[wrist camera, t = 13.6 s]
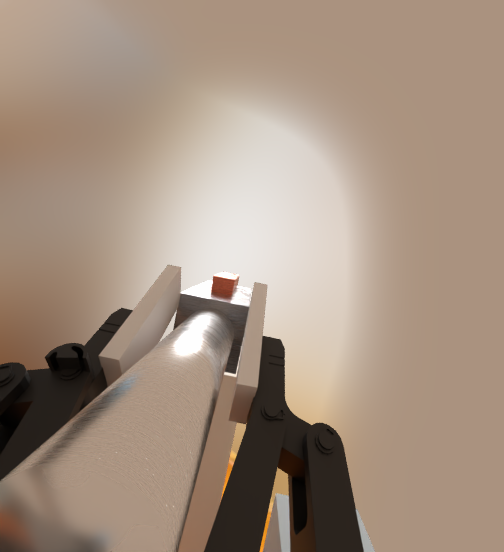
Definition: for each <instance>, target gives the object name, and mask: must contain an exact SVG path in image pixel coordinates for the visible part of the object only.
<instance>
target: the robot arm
mask: <svg viewBox="0 0 504 552" xmlns="http://www.w3.org/2000/svg"><path fill="white" fill-rule="evenodd" d="M180 290H181V267H177V266H172V265H167V267H166V268H165V270H164V271H163V272H162V273H161V275H160V276H159V277H158V279H157V280H156V281H155V283H154V284H153V285H152V286H151V288H150V289H149V290H148V292H147V293H146V294H145V296H144V297H143V298H142V300H141V301H140V302H139V303H138V305H137V306H136V307H135V309H134V310H128V309H124V308H121V309H119V310H118V311H116V312H114V313H113V314H111V316H110V317H109V318H108V319H107V320H106V321H105V323H104V324H103V325H102V326H101V327H100V328H99V330H98V331H97V332H96V333H95V334H94V335H93V337H92V338H91V339H90V340H89V341H88V342H87V343H86V345H85V346H83V345H82V344H78V343H69V344H64V345H62V346H59V347H57V348H55V349H53V350H52V351H50V352H49V353H48V354H47V355H46V357H45V359H46V361H47V363H48V366H49V369H38V370H26V368H25V367H24V365H22V364H20V363H6V364H2V365H0V481H1V480H2V479H3V478H4V477H5V476H6V475H8V474H9V473H10V472H11V471H12V470H13V469H15V468H16V467H17V466H18V465H19V464H20V463H21V462H23V461H24V460H25V459H26V458H27V457H28V456H29V455H31V454H32V453H33V452H34V451H35V450H36V449H38V448H39V447H40V446H41V445H42V444H43V443H44V442H46V441H47V440H48V439H49V438H50V437H51V436H52V435H54V434H55V433H56V432H57V431H58V430H59V429H61V428H62V427H63V426H64V425H65V424H66V423H67V422H69V421H70V420H71V419H72V418H73V417H74V416H76V415H77V414H78V413H79V412H80V411H81V410H82V409H84V408H85V407H86V406H87V405H88V404H89V403H90V402H92V401H93V400H94V399H95V398H96V397H97V396H99V395H100V394H101V393H102V392H103V391H104V390H105V389H107V388H108V387H109V386H110V385H111V384H112V383H113V382H115V381H116V380H117V379H118V378H119V377H120V376H122V375H123V374H124V373H125V372H126V371H127V370H128V369H130V368H131V367H132V366H133V365H134V364H135V363H136V362H138V361H139V360H140V359H141V358H142V357H143V356H145V355H146V354H147V353H148V352H149V351H150V350H151V349H153V348H154V347H155V346H156V345H157V344H158V343H159V341H160V339H161V337H162V336H163V334H164V332H165V330H166V328H167V326H168V325H169V323H170V321H171V319H172V317H173V315H174V313H175V312H176V310H177V308H178V305H179V300H180ZM266 294H267V285H266V284H261V283H256V282H255V283H254V288H253V292H252V297H251V301H250V306H249V311H248V316H247V321H246V326H245V332H244V337H243V343H242V348H241V354H240V359H239V365H238V371H237V376H236V382H235V387H234V393H233V398H232V404H231V409H230V415H229V421H232V422H237V423H243V424H246V423H247V424H246V431H245V433H244V436H243V439H242V442H241V445H240V448H239V451H238V454H237V456H236V459H235V462H234V465H233V468H232V471H231V474H230V477H229V480H228V483H227V486H226V488H225V491H224V494H223V497H222V500H221V503H220V506H219V509H218V512H217V515H216V518H215V520H214V523H213V526H212V529H211V532H210V535H209V538H208V541H207V544H206V547H205V550H204V552H259V551H260V546H261V541H262V537H263V532H264V527H265V523H266V518H267V513H268V509H269V504H270V499H271V495H272V490H273V485H274V480H275V476H276V471H277V467H278V468H279V469H281V470H282V471H284V472H285V473H287V474H288V482H289V520H290V552H364V549H363V544H362V539H361V534H360V529H359V524H358V519H357V513H356V508H355V503H354V498H353V493H352V488H351V483H350V478H349V473H348V468H347V462H346V457H345V452H344V447H343V443H342V441H341V438H340V436H339V435H338V433H337V432H336V431H335V430H334V429H333V428H332V427H330V426H329V425H327V424H324V423H315V424H313V425H310V424H309V423H307V422H305V421H303V420H301V419H300V418H298V417H297V416H295V415H294V414H293V413H292V412H291V411H290V409H289V408H288V406H287V404H286V401H285V367H284V366H285V360H284V358H285V351H284V350H285V349H284V346H283V344H282V342H281V340H280V339H275V338H271V337H266V336H263V326H264V315H265V304H266Z"/></svg>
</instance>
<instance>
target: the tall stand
mask: <svg viewBox="0 0 504 552" xmlns="http://www.w3.org/2000/svg"><path fill="white" fill-rule="evenodd" d="M242 343H243V342H242ZM241 348H242V347H241ZM240 354H241V352H240ZM239 359H240V357H239ZM238 365H239V361H238ZM237 371H238V366H237ZM237 371H236V374H232V373H227V372H225V373H224V377H223V380H222V384H221V388H220V392H219V396H218V400H217V403H216V407H215V411H214V415H213V419H212V423H211V426H210V430H209V434H208V438H207V442H206V446H205V449H204V453H203V457H202V461H201V465H200V469H199V472H198V476H197V480H196V484H195V488H194V492H193V495H192V499H191V503H190V507H189V511H188V515H187V518H186V522H185V526H184V530H183V534H182V538H181V541H180V545H179V549H178V552H204V550H205V547H206V544H207V541H208V538H209V535H210V532H211V529H212V526H213V523H214V520H215V518H216V515H217V512H218V509H219V505H220V501H221V496H222V491H223V486H224V481H225V476H226V472H227V467H228V462H229V457H230V452H231V448H232V443H233V438H234V433H235V428H236V423H237V422H232V421H229V415H230V409H231V404H232V398H233V393H234V387H235V382H236V376H237Z"/></svg>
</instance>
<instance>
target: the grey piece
mask: <svg viewBox="0 0 504 552" xmlns="http://www.w3.org/2000/svg"><path fill="white" fill-rule="evenodd" d="M238 280H239V275H236V274H232V273H227V272H222V273H219V274H216V275H214V276H213V281H210V280H208V281H206V282H204V283H202V284H199V285H197V286H195V287H192V288H190V289H188V290H186V291H183V292H181V293H180V300H179V305H178V308H177V313H176V318H175V324H174V329H173V331H172V332H171V333H170V334H169V335H168V336H166V337H165V338H164V339H163V340H162V341H161V342H159V343H158V344H157V345H156V346H155V347H154V348H153V349H151V350H150V351H149V352H148V353H147V354H146V355H145V356H143V357H142V358H141V359H140V360H139V361H138V362H136V363H135V364H134V365H133V366H132V367H131V368H130V369H128V370H127V371H126V372H125V373H124V374H123V375H122V376H120V377H119V378H118V379H117V380H116V381H115V382H113V383H112V384H111V385H110V386H109V387H108V388H107V389H105V390H104V391H103V392H102V393H101V394H100V395H99V396H97V397H96V398H95V399H94V400H93V401H92V402H90V403H89V404H88V405H87V406H86V407H85V408H84V409H82V410H81V411H80V412H79V413H78V414H77V415H76V416H74V417H73V418H72V419H71V420H70V421H69V422H67V423H66V424H65V425H64V426H63V427H62V428H61V429H59V430H58V431H57V432H56V433H55V434H54V435H52V436H51V437H50V438H49V439H48V440H47V441H46V442H44V443H43V444H42V445H41V446H40V447H39V448H38V449H36V450H35V451H34V452H33V453H32V454H31V455H29V456H28V457H27V458H26V459H25V460H24V461H23V462H21V463H20V464H19V465H18V466H17V467H16V468H15V469H13V470H12V471H11V472H10V473H9V474H8V475H6V476H5V477H4V478H3V479H2V480H1V481H0V552H178V549H179V545H180V541H181V538H182V534H183V530H184V526H185V522H186V518H187V515H188V511H189V507H190V503H191V499H192V495H193V492H194V488H195V484H196V480H197V476H198V472H199V469H200V465H201V461H202V457H203V453H204V449H205V446H206V442H207V438H208V434H209V430H210V426H211V423H212V419H213V415H214V411H215V407H216V403H217V400H218V396H219V392H220V388H221V384H222V380H223V377H224V373H225V372H227V373H232V374H236V371H237V366H238V361H239V357H240V352H241V347H242V342H243V337H244V332H245V326H246V321H247V316H248V311H249V306H250V297H251V289H250V288H245V287H240V286H237V285H238Z"/></svg>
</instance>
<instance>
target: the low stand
mask: <svg viewBox="0 0 504 552" xmlns="http://www.w3.org/2000/svg"><path fill="white" fill-rule="evenodd" d="M356 513H357V519H358V524H359V529H360V534H361V539H362V544H363V549H364V552H375V551H374V548H373V546H372V543H371V541H370V539H369V537H368V534H367V532H366V529H365V527H364V524H363V522H362V519H361V517H360V515H359V512H358V510H357V509H356ZM263 552H290V520H289V496H287V495H282V494H277V493H276V495H275V500H274V504H273V509H272V513H271V518H270V522H269V527H268V531H267V536H266V540H265V545H264V549H263Z"/></svg>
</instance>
